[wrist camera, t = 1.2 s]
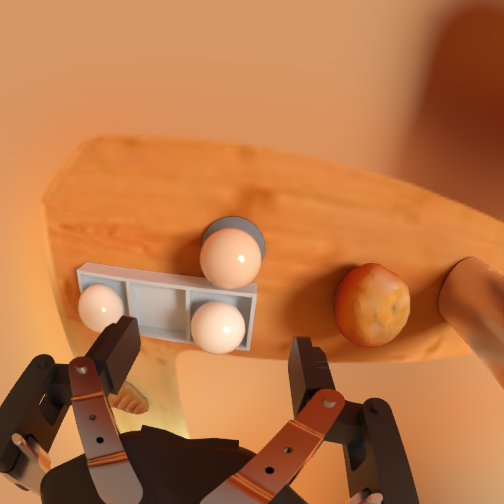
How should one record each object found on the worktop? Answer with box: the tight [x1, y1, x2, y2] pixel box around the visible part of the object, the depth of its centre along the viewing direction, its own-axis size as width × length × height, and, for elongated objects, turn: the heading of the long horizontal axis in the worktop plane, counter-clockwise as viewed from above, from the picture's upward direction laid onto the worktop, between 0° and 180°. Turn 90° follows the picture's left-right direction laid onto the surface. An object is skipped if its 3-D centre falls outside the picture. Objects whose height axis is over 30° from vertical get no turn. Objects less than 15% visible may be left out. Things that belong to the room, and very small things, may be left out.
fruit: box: [332, 263, 410, 348], centre depth 25 cm, size 8×8×8 cm
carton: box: [76, 262, 257, 351], centre depth 27 cm, size 19×7×2 cm, turn 84°
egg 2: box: [191, 301, 245, 354], centre depth 25 cm, size 5×5×5 cm
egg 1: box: [78, 284, 124, 333], centre depth 25 cm, size 5×5×5 cm
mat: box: [201, 216, 265, 262], centre depth 26 cm, size 6×6×1 cm
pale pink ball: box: [200, 228, 261, 290], centre depth 23 cm, size 5×5×5 cm
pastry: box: [108, 380, 148, 414], centre depth 33 cm, size 9×7×4 cm
